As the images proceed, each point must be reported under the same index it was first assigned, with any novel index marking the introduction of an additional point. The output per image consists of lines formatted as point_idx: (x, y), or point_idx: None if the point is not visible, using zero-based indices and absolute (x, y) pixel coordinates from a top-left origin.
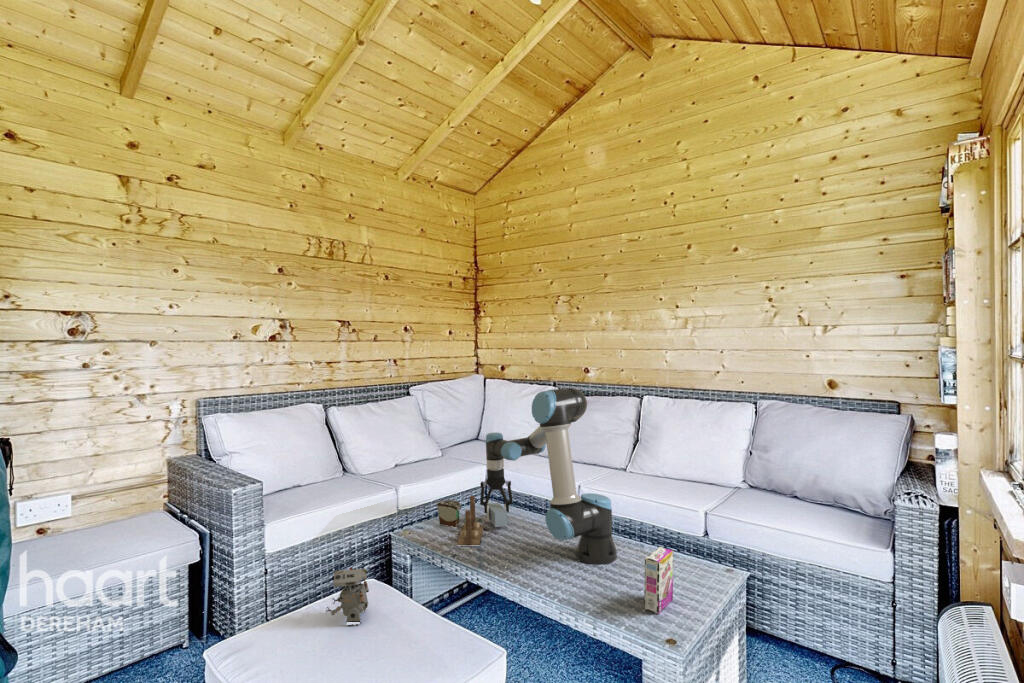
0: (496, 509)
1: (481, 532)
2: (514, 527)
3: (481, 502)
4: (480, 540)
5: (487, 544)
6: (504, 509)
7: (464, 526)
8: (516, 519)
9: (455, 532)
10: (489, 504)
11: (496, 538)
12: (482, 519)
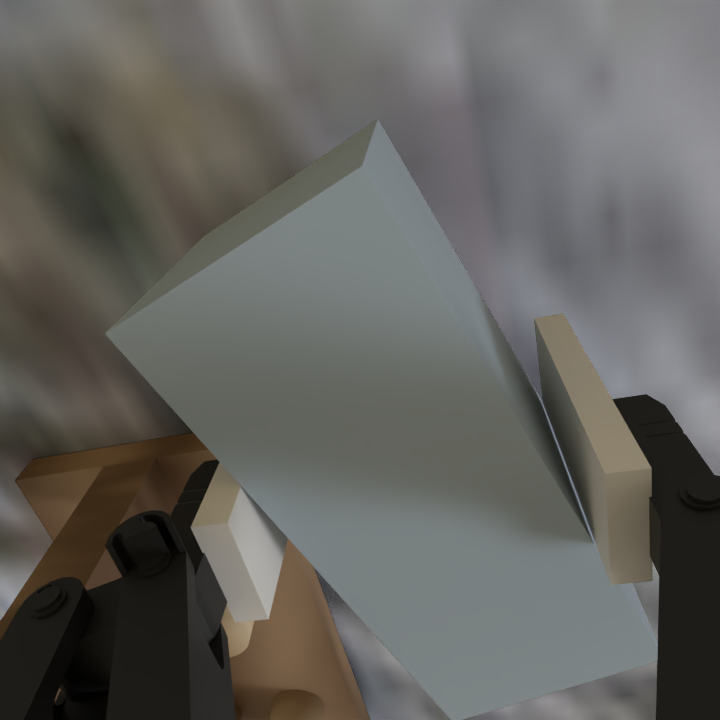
0: (439, 592)
1: (313, 613)
2: (662, 357)
3: (93, 712)
4: (361, 716)
5: (429, 713)
6: (603, 582)
7: (56, 512)
8: (696, 17)
9: (34, 563)
10: (179, 342)
11: None
12: (111, 143)
